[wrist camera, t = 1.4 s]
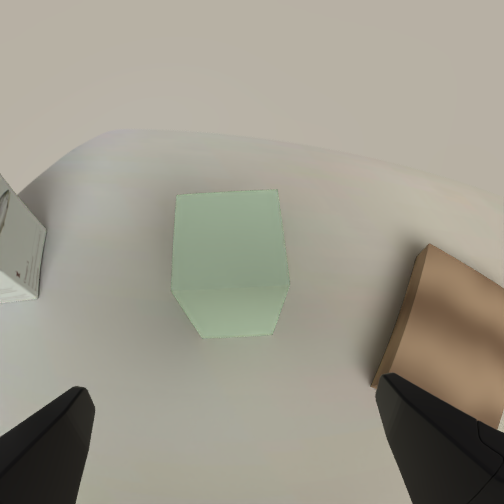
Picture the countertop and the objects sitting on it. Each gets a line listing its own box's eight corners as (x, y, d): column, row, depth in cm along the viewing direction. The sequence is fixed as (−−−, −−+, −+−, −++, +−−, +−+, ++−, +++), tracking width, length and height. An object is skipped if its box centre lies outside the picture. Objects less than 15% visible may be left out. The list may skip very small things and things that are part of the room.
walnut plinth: (478, 430, 18) (497, 429, 15) (370, 386, 20) (384, 383, 18) (507, 310, 22) (523, 301, 20) (416, 257, 25) (429, 243, 23)
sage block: (272, 334, 22) (290, 284, 13) (202, 338, 22) (170, 290, 13) (266, 271, 24) (277, 189, 15) (201, 274, 24) (176, 195, 15)
